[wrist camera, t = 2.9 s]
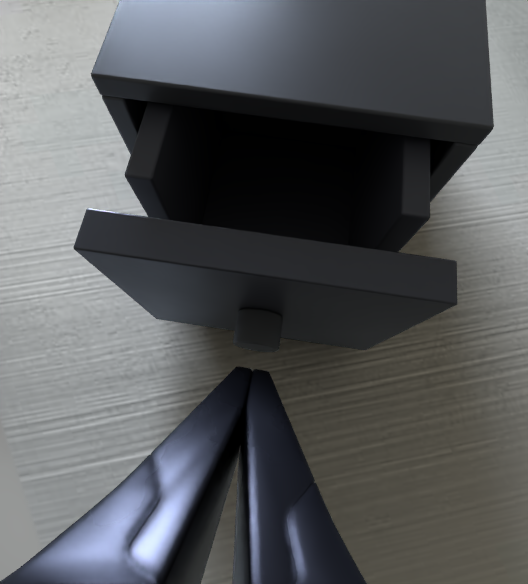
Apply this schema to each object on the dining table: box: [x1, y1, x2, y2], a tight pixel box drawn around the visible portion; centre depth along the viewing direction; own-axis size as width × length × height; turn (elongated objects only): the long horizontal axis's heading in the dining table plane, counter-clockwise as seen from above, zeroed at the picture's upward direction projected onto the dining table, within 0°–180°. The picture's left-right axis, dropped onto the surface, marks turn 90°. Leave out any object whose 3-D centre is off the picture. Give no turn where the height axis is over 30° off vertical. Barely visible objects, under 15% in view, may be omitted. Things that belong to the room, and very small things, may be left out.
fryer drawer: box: [74, 101, 457, 352], centre depth 14 cm, size 12×10×8 cm
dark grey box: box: [91, 0, 494, 202], centre depth 16 cm, size 12×11×9 cm
